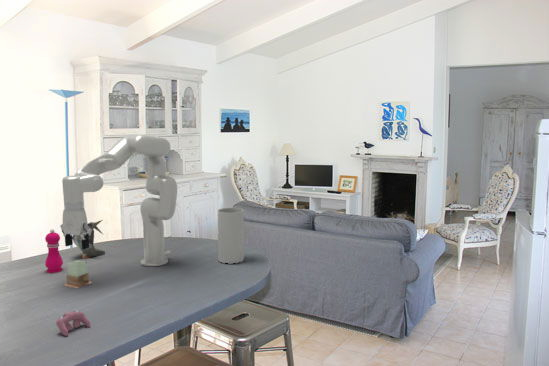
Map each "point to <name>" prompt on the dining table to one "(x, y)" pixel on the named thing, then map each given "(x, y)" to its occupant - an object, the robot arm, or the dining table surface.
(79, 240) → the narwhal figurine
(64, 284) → the cream wavy board
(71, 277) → the walnut base block
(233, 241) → the cylinder vase
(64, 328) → the video game controller
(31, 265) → the dining table surface
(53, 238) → the pepper mill
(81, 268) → the sage block
